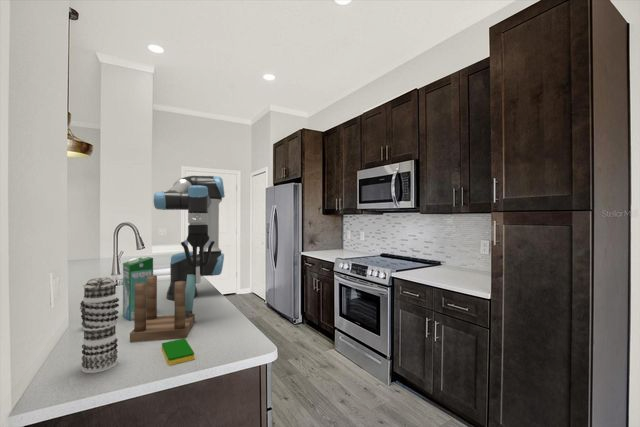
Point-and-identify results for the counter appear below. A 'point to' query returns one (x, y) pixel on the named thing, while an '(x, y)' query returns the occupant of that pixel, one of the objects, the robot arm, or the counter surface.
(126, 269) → the milk carton
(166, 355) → the dish sponge
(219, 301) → the counter surface
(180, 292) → the walnut stool
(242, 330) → the counter surface
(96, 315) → the decorative candle
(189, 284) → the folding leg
